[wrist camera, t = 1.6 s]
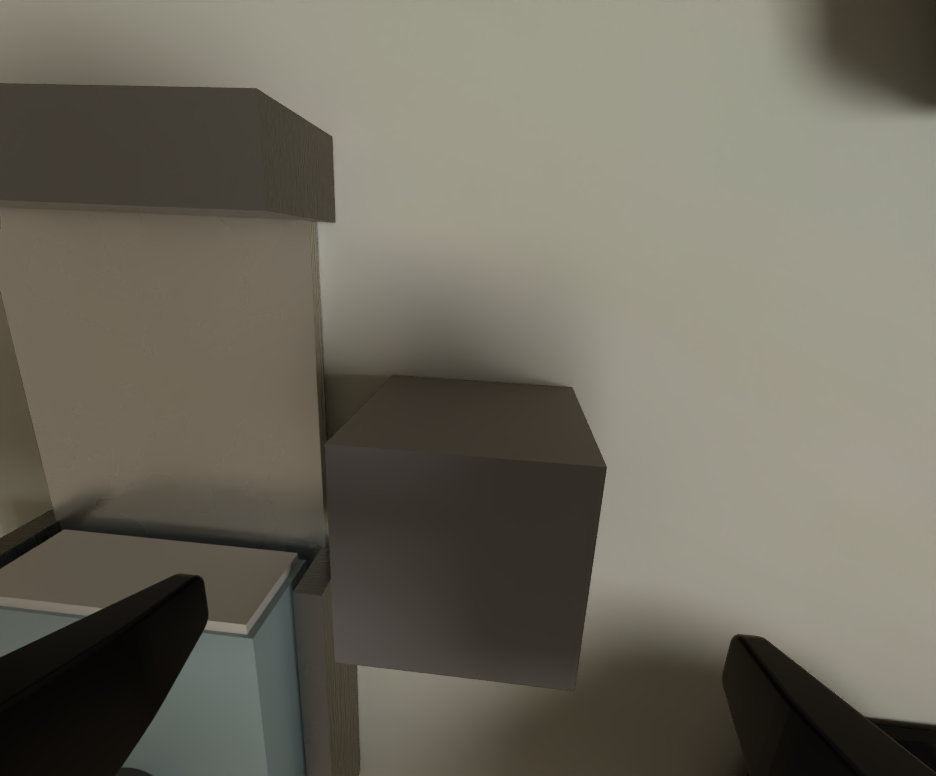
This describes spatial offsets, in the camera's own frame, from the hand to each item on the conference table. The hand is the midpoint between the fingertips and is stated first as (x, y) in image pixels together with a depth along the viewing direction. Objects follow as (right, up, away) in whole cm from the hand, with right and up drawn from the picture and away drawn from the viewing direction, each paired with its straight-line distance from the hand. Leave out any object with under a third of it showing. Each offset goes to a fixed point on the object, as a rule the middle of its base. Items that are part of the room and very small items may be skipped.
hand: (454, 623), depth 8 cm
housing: (+1, +2, +6) cm, 6 cm away
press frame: (-9, 0, +7) cm, 11 cm away
